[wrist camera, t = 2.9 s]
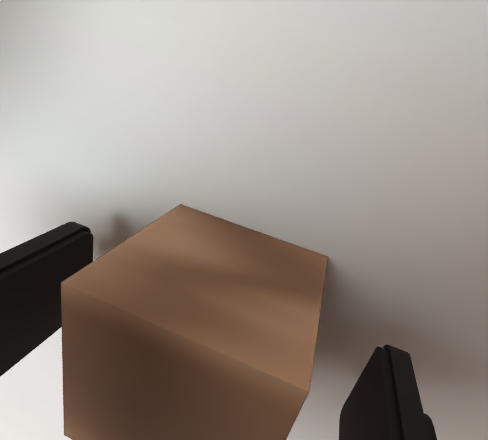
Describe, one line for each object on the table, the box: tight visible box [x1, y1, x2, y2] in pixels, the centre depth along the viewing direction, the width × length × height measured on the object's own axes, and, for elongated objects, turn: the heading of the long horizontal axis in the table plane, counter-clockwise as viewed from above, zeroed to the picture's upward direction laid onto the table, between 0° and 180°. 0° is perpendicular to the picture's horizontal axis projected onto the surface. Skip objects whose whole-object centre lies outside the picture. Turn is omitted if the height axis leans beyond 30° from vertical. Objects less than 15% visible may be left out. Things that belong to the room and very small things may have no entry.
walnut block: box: [61, 204, 328, 440], centre depth 9 cm, size 5×5×5 cm
